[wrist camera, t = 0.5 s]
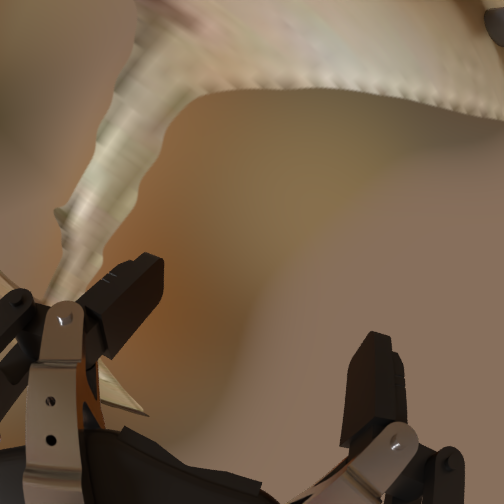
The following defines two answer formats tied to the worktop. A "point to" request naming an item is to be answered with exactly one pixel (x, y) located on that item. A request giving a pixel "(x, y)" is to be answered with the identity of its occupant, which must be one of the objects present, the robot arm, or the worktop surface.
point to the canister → (495, 24)
